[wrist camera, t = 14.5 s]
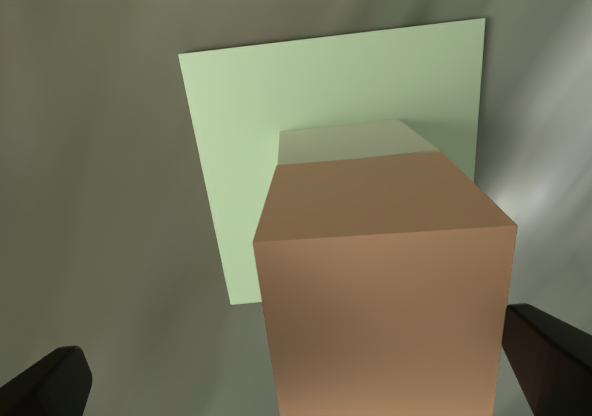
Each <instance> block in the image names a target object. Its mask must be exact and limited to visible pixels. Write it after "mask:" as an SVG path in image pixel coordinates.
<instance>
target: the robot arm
mask: <svg viewBox="0 0 592 416" xmlns="http://www.w3.org/2000/svg"><path fill="white" fill-rule="evenodd" d="M501 344H502V347H503V349H504V351H505V354H506V356H507V358H508V360H509V362H510V365H511V367H512V369H513V371H514V373H515V375H516V378H517V380H518V382H519V384H520V386H521V389H522V391H523V393H524V395H525V397H526V399H527V402H528V404H529V406H530V408H531V410H532V412H533V414H534V416H592V335H590V334H588V333H586V332H584V331H582V330H580V329H578V328H576V327H574V326H572V325H570V324H568V323H566V322H564V321H562V320H560V319H558V318H556V317H554V316H552V315H550V314H548V313H546V312H544V311H542V310H540V309H538V308H536V307H534V306H532V305H530V304H527V303H519V304H509V305H507V307H506V312H505V320H504V327H503V334H502V342H501ZM91 386H92V373H91V371H90V368H89V366H88V363H87V361H86V358H85V356H84V353H83V351H82V349H81V348H80V347H79V346H66V347H59V348H57V349H55V350H54V351H52V352H51V353H49V354H48V355H47V356H45V357H44V358H42V359H41V360H39V361H38V362H36V363H35V364H34V365H32V366H31V367H29V368H28V369H26V370H25V371H24V372H22V373H21V374H19V375H18V376H16V377H15V378H13V379H12V380H11V381H9V382H8V383H6V384H5V385H3V386H2V387H1V388H0V416H83V412H84V409H85V406H86V403H87V399H88V396H89V393H90V389H91Z"/></svg>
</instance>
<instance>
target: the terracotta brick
mask: <svg viewBox="0 0 592 416" xmlns="http://www.w3.org/2000/svg"><path fill="white" fill-rule="evenodd" d="M517 226H518V225H517V224H516V223H514V222H513V221H512V220H511V219H510V218H509V217H508V216H507V215H506V214H505V213H504V212H503V211H502V210H501V209H500V208H499V207H498V206H497V205H496V204H495V203H494V202H493V201H492V200H491V199H490V198H489V197H488V196H487V195H486V194H485V193H484V192H483V191H482V190H481V189H480V188H479V187H477V186H476V185H475V184H474V183H473V182H472V181H471V180H470V179H469V178H468V177H467V176H466V175H465V174H464V173H463V172H462V171H461V170H460V169H459V168H458V167H457V166H456V165H455V164H454V163H453V162H452V161H451V160H450V159H449V158H448V157H447V156H446V155H445V154H444V153H443V152H434V153H422V154H409V155H396V156H384V157H371V158H359V159H346V160H334V161H321V162H309V163H296V164H284V165H276V168H275V171H274V175H273V178H272V181H271V184H270V187H269V191H268V194H267V197H266V200H265V203H264V207H263V210H262V213H261V216H260V219H259V223H258V226H257V229H256V232H255V236H254V239H253V242H252V243H253V249H254V256H255V262H256V268H257V274H258V281H259V287H260V293H261V299H262V306H263V312H264V318H265V324H266V331H267V337H268V343H269V349H270V356H271V362H272V368H273V375H274V381H275V387H276V393H277V400H278V406H279V412H280V416H492V414H493V407H494V399H495V392H496V384H497V377H498V369H499V362H500V354H501V347H502V344H501V342H502V334H503V327H504V320H505V312H506V307H507V301H508V294H509V286H510V279H511V271H512V264H513V256H514V249H515V241H516V234H517Z"/></svg>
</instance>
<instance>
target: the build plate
mask: <svg viewBox="0 0 592 416" xmlns="http://www.w3.org/2000/svg"><path fill="white" fill-rule="evenodd" d="M484 30H485V18H480V19H471V20H462V21H454V22H445V23H437V24H429V25H420V26H412V27H403V28H395V29H386V30H378V31H369V32H361V33H352V34H344V35H335V36H327V37H319V38H310V39H302V40H293V41H285V42H276V43H268V44H259V45H251V46H242V47H234V48H225V49H217V50H209V51H200V52H192V53H183V54H178V55H179V60H180V65H181V70H182V75H183V79H184V84H185V89H186V94H187V98H188V103H189V108H190V113H191V117H192V122H193V127H194V132H195V136H196V141H197V146H198V151H199V155H200V160H201V165H202V170H203V175H204V179H205V184H206V189H207V194H208V198H209V203H210V208H211V213H212V217H213V222H214V227H215V232H216V236H217V241H218V246H219V251H220V255H221V260H222V265H223V270H224V275H225V279H226V284H227V289H228V294H229V298H230V303H231V305H234V304H243V303H253V302H262V299H261V293H260V287H259V281H258V274H257V268H256V262H255V256H254V249H253V243H252V242H253V239H254V236H255V232H256V229H257V226H258V223H259V219H260V216H261V213H262V210H263V207H264V203H265V200H266V197H267V194H268V191H269V187H270V184H271V181H272V178H273V175H274V171H275V168H276V165H278V148H279V132H282V131H291V130H300V129H309V128H318V127H327V126H336V125H345V124H354V123H362V122H371V121H380V120H389V119H398V120H400V121H401V122H402V123H404V124H405V125H406V126H408V127H409V128H410V129H412V130H413V131H415V132H416V133H417V134H419V135H420V136H421V137H423V138H424V139H425V140H427V141H428V142H429V143H431V144H432V145H433V146H435V147H436V148H437V149H439V152H443V153H444V154H445V155H446V156H447V157H448V158H449V159H450V160H451V161H452V162H453V163H454V164H455V165H456V166H457V167H458V168H459V169H460V170H461V171H462V172H463V173H464V174H465V175H466V176H467V177H468V178H469V179H470V180H471V181H472V182H473V183H474V173H475V159H476V144H477V130H478V116H479V102H480V87H481V73H482V59H483V44H484Z"/></svg>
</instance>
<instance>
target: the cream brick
mask: <svg viewBox="0 0 592 416" xmlns="http://www.w3.org/2000/svg"><path fill="white" fill-rule="evenodd" d="M434 152H439V149H437V148H436V147H435V146H433V145H432V144H431V143H429V142H428V141H427V140H425V139H424V138H423V137H421V136H420V135H419V134H417V133H416V132H415V131H413V130H412V129H410V128H409V127H408V126H406V125H405V124H404V123H402V122H401V121H400V120H398V119H389V120H380V121H371V122H362V123H354V124H345V125H336V126H327V127H318V128H309V129H300V130H291V131H282V132H279V148H278V165H284V164H296V163H309V162H321V161H334V160H346V159H359V158H371V157H384V156H396V155H409V154H422V153H434Z"/></svg>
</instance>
